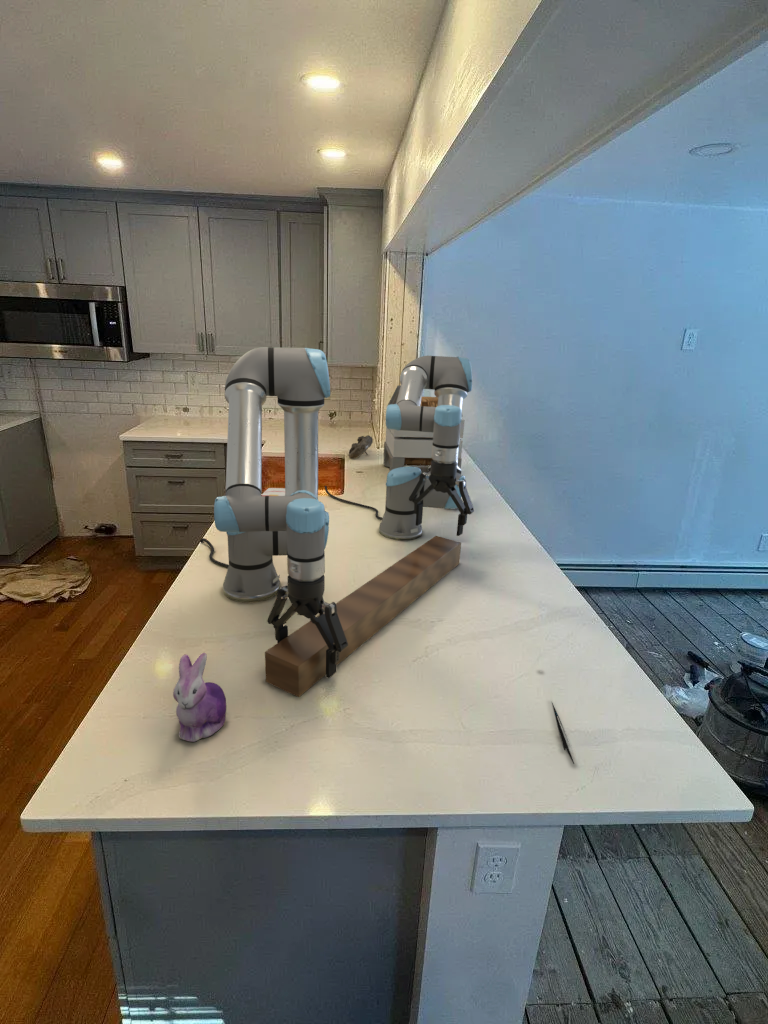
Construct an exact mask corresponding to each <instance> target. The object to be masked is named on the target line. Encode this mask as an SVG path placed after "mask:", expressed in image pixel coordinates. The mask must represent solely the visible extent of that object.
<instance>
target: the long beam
mask: <svg viewBox="0 0 768 1024" xmlns="http://www.w3.org/2000/svg"><path fill="white" fill-rule="evenodd" d="M461 549H462V542H461V541H458V540H454V539H450V538H447V537H442V536H439V535H435V536H433V537H432V538H431V539H429V540H427V541H426V542H424V543H423V544H422V545H420V546H418V547H417V548H416V549H414V550H413V551H411V552H410V553H408V554H407V555H405V556H404V557H402V558H400V559H399V560H398V561H396V562H395V563H393V564H392V565H390V566H389V567H388V568H386V569H385V570H382V571H381V572H380V573H379V574H377V575H375V576H374V577H373V578H372V579H370V580H369V581H367V582H366V583H364V584H362V585H361V586H359V587H358V588H357V589H355V590H354V591H352V592H350V593H349V594H347V595H346V596H344V597H343V598H342V599H340V600H339V601H337V602H335V603H336V606H337V614H338V617H339V620H340V623H341V626H342V628H343V631H344V634H345V637H346V639H347V642H348V646H347V647H346V648H345V649H344V650H342V651H341V652H340V654H339V661H338V662H337V666H338V665H340V663H342V662H343V661H344V660H346V658H348V657H349V656H350V655H351V654H353V653H354V652H355V651H356V650H357V649H359V648H360V647H361V646H363V644H365V643H366V642H367V641H368V640H369V639H370V638H372V637H373V636H374V635H375V634H377V633H378V632H379V631H381V630H382V629H383V628H384V627H385V626H386V625H388V624H389V623H390V622H391V621H392V620H394V619H395V618H396V617H398V615H400V614H401V613H402V612H403V611H404V610H405V609H407V608H408V607H409V606H411V604H413V603H414V602H415V601H416V600H418V599H419V598H420V597H421V596H423V595H424V594H425V593H426V592H427V591H428V590H430V589H431V588H432V587H433V586H435V585H436V584H437V583H438V582H440V581H441V579H443V578H444V577H446V576H447V574H449V573H450V572H451V571H452V570H454V569H455V568H456V567H457V566H458V565H460V560H461ZM318 616H319V614H317V615H316V616H315V617H316V618H317V617H318ZM333 644H334V643H333ZM327 649H329V648H328V646H327V644H326V642H325V641H324V639H323V637H322V635H321V634H320V632H319V630H318V628H317V627H316V625H315V624H313V623H312V622H311V620H309V621H308V622H307V623H305V624H304V625H302V626H300V627H299V628H297V629H296V630H295V631H293V632H291V633H290V634H288V636H287V637H286V638H284V639H283V640H281V641H280V642H279V643H277V642H276V644H274V645H273V646H271V647H269V648H268V649H266V650H265V651H264V667H265V682H266V683H268V684H270V685H272V686H274V687H275V688H278V689H280V690H282V691H284V692H287V693H289V694H292V695H293V696H295V697H297V698H300V697H301V696H302V695H303V694H305V692H307V691H308V690H309V689H310V688H312V687H313V686H314V685H316V684H317V683H318V682H319V681H320V680H322V679H323V678H324V677H326V650H327Z"/></svg>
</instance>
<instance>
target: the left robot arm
mask: <svg viewBox="0 0 768 1024" xmlns="http://www.w3.org/2000/svg"><path fill="white" fill-rule="evenodd" d="M329 373H330V372H329V366H328V361H327V357H326V354H325V352H324V351H323V350H322V349H319V348H311V347H272V346H271V347H269V346H259V347H255V348H253V349H251V350H248V351H246V352H245V353H244V354H243V355H241V356H240V357H239V358H238V359H237V360H236V361H235V363H234V364H233V365H232V367H231V369H230V370H229V372H228V374H227V377H226V380H225V384H224V399H225V401H226V402H227V403H228V413H227V417H228V418H227V439H226V440H227V442H226V443H227V444H226V445H227V446H226V472H225V495H222V496H217V497H216V498H215V499H214V504H213V519H214V526H215V528H216V530H217V531H218V532H220V533H221V532H223V533H226V536H227V552H228V563H225V562H221V561H218V560H216V559H215V558H213V555H214V553H215V547H214V546H213V544H212V543H211V542H210V541H209V540H208V539H206V538H201V539H200V540H199V543H203V542H204V543H206V544H207V545H208V547H209V548H210V552H209V555H208V559H209V560H210V561H211V562H212V563H214V564H216V565H217V566H221V567H224V568H226V569H227V570H226V574H225V576H224V580H223V584H222V589H223V594H224V596H225V597H226V598H228V599H229V600H231V601H235V602H240V603H258V602H262V601H266V600H268V599H271V598H273V597H275V596H276V599H275V601H274V604H273V606H272V607H271V610H270V612H269V615H268V616H267V619H266V623H267V624H268V625H272V627H273V628H274V640H275V641H276V644H277V643H279V642H280V641H281V640H283V639H284V638H286V637H287V636H289V625H286V624H287V622H288V621H289V620H290V619H291V618H292V617H293V616H294V615H295V614H297V615H298V616H301V617H304V618H306V619H309V621H311V622H312V623H313V624H315V625H316V627H317V628H318V630H319V632H320V634H321V635H322V637H323V639H324V641H325V642H326V644H327V646H328V648H329V649H327V650H326V675H325V678H327V679H330V678H331V677H333V675H335V674H336V673H337V667H338V665H337V662H338V661H339V654H340V652H341V651H342V650H344V649H345V648H346V647H347V646H348V642H347V639H346V637H345V634H344V631H343V628H342V626H341V623H340V620H339V617H338V614H337V606H336V603H337V602H334V601H332V602H331V603H328V602H326V601H325V600H324V594H325V586H326V585H325V581H326V580H325V572H326V554H325V553H326V551H325V549H326V547H327V544H328V538H329V531H330V514H329V512H328V511H326V509H325V505H324V503H323V502H322V501H319V412H320V410H321V409H322V408H323V407H324V406H325V399H328V398H330V397H331V382H330V375H329ZM267 397H277V405H278V406H279V407H280V408H281V409H282V411H283V437H284V488H285V496H261V495H262V494H263V493H262V490H263V488H262V483H263V481H262V479H263V478H262V477H263V475H262V473H263V470H262V469H263V405H264V404H265V403H266V402H267ZM277 556H279V557H280V556H281V557H282V556H286V562H287V563H286V565H287V567H286V568H287V578H286V579H287V585H284V586H282V587H281V581H280V579H281V577H280V574H279V575H278V571H277V569H276V567H275V565H274V561H273V560H274V558H273V557H277ZM288 600H289V602H290V606H289V607H287V608H286V611H285V612H284V613H283V614H282V612H283V609H284V607H285V605H286V603H287V601H288ZM281 614H282V615H281ZM318 615H319V616H318ZM317 616H318V617H317ZM316 617H317V618H316ZM333 643H334V644H333Z"/></svg>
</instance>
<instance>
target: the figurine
mask: <svg viewBox="0 0 768 1024" xmlns="http://www.w3.org/2000/svg"><path fill="white" fill-rule="evenodd" d="M207 660H208V655H207V653H206V652H201V653H200V654H199V656H198V657H197V658H196V659H195V661H194V662H193V663H192V660H191V658H190V656H189V655H188V654H187V653H185V654H183V655H182V656H181V657H180V660H179V664H178V674H179V675H178V677H179V678H178V680H177V682H176V684H175V686H174V688H173V692H172V693H173V694H172V696H173V699H174V701H176V702H177V706H176V711H175V712H176V718H177V720H178V722H179V726H180V728H179V731H178V732H179V733H178V736H179V739H180V740H183V741H187V742H191V743H192V742H198V741H199V740H201V739H204V738H206V739H207V738H209V737H211V736H212V735H214V734H215V733H217V732H218V731H219V730H220V729H221V728H223V726H225V722H226V713H227V698H226V695H225V692H224V690H223V688H222V687H221V686H220V685H219V684H217V683H215V682H213V681H212V682H211V681H207V682H205V680H204V678H203V676H204V672H205V668H206V664H207Z"/></svg>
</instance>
